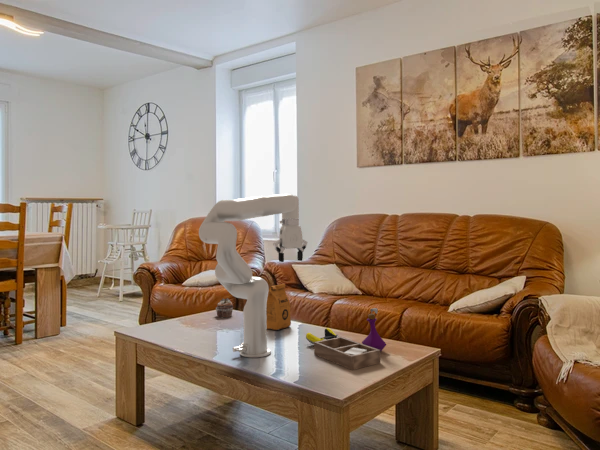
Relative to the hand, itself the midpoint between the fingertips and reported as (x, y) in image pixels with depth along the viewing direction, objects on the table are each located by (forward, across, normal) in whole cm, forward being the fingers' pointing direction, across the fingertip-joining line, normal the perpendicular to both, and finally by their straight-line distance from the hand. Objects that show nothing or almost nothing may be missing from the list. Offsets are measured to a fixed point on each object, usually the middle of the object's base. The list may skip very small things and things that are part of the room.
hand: (290, 261), depth 213 cm
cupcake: (+36, -4, +68) cm, 77 cm away
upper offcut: (+34, +4, -40) cm, 53 cm away
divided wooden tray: (+36, +5, -34) cm, 50 cm away
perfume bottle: (+36, +20, -33) cm, 53 cm away
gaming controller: (+36, +10, -12) cm, 40 cm away
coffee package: (+36, +7, +25) cm, 45 cm away
